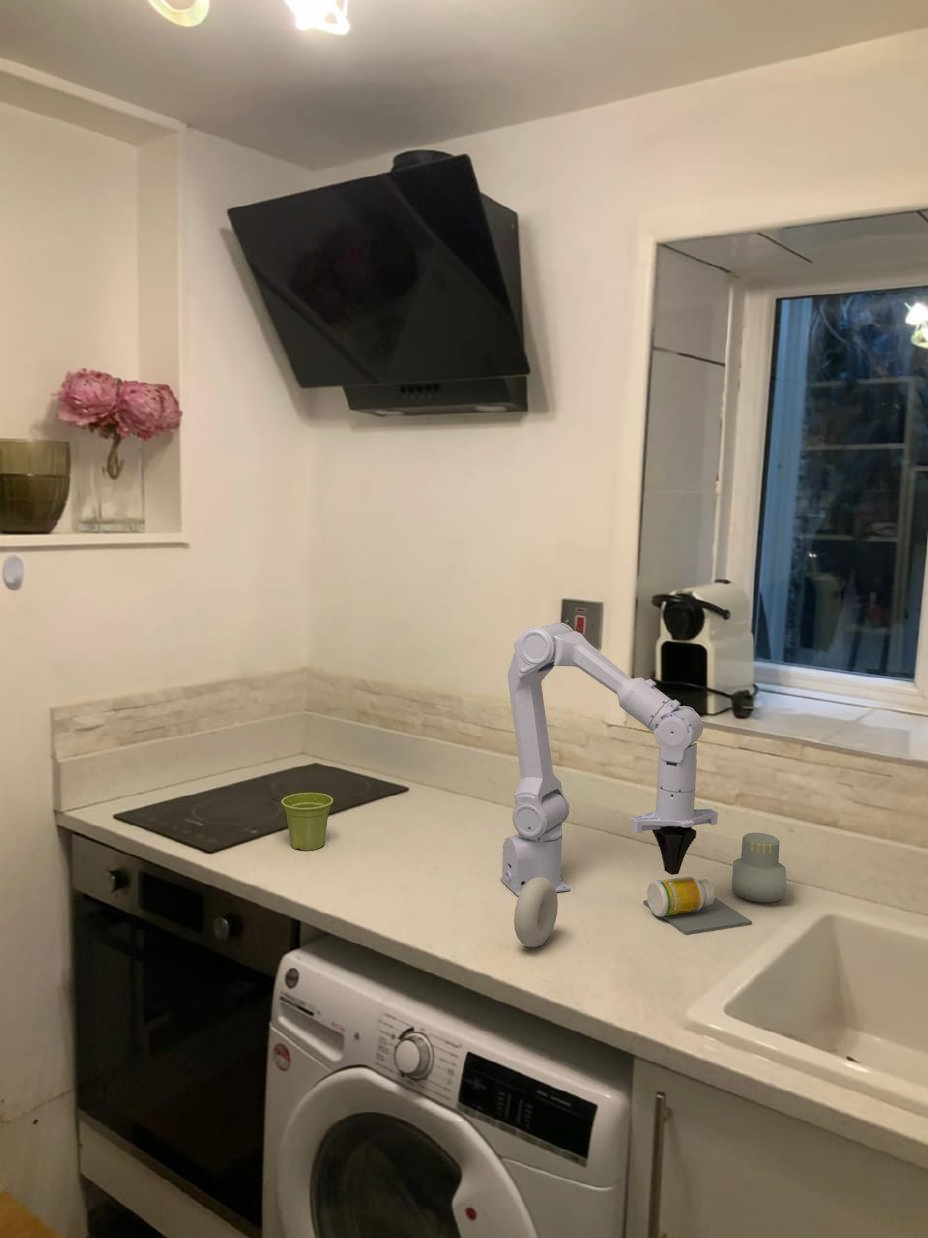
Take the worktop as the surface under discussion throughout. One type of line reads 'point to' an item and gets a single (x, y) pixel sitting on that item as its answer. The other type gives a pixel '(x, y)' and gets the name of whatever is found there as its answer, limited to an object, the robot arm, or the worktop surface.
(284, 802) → the plant pot
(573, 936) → the worktop surface
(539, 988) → the worktop surface
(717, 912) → the mat
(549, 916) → the donut
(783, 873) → the air freshener
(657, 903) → the supplement bottle
